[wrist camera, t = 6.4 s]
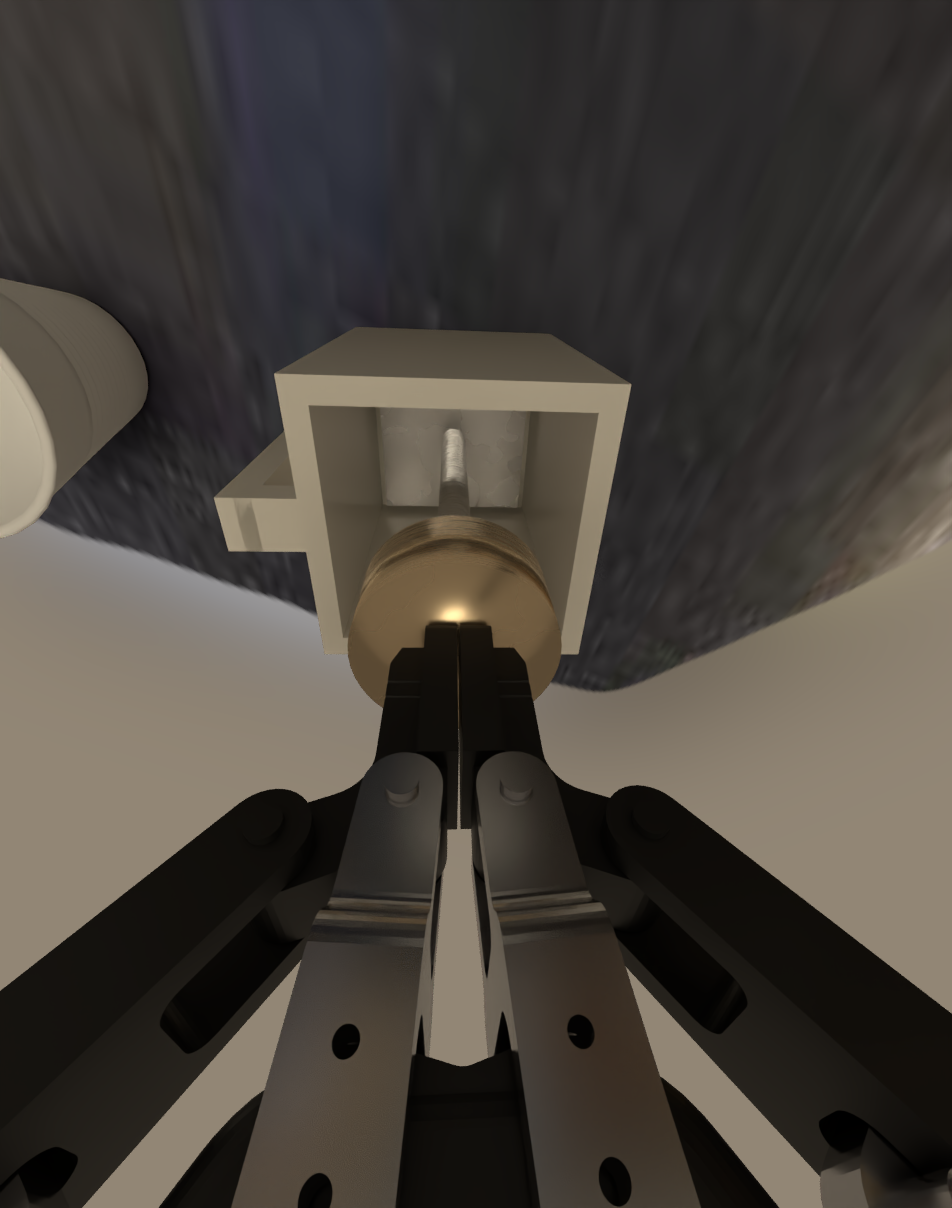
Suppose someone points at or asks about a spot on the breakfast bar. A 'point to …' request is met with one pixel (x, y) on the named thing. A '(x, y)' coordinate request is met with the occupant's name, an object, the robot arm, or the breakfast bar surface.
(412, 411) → the plunger
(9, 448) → the cup
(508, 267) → the breakfast bar surface
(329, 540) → the press jug
